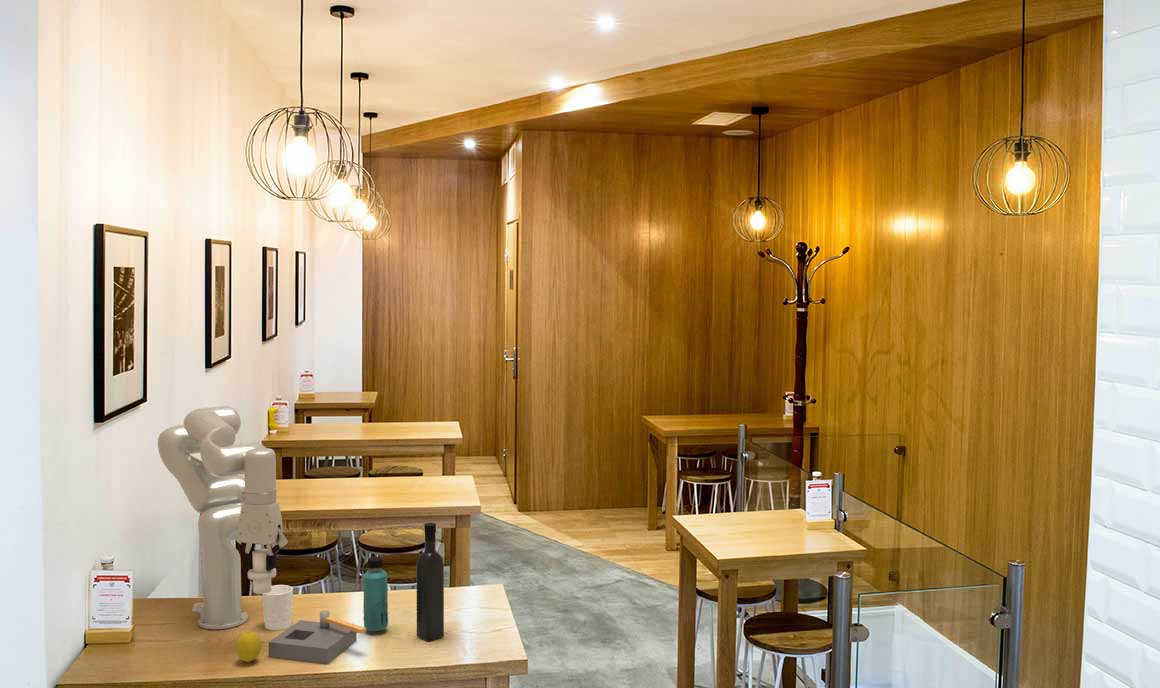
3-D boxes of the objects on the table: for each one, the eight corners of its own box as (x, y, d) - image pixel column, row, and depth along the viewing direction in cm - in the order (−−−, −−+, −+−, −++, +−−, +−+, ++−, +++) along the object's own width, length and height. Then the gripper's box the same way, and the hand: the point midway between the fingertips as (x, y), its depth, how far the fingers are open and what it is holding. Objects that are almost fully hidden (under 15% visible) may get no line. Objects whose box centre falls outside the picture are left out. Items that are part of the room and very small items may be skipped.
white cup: (299, 623, 254) (299, 587, 253) (278, 633, 247) (278, 596, 246) (277, 618, 257) (276, 583, 256) (256, 628, 250) (255, 592, 249)
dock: (268, 657, 232) (268, 642, 231) (300, 634, 246) (300, 620, 246) (327, 664, 228) (327, 648, 228) (356, 641, 242) (356, 626, 242)
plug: (242, 594, 236) (241, 554, 235) (257, 585, 243) (257, 546, 242) (266, 596, 234) (266, 556, 234) (281, 587, 241) (281, 548, 240)
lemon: (240, 658, 231) (239, 626, 230) (263, 658, 231) (262, 626, 231) (234, 668, 225) (233, 635, 225) (257, 667, 226) (257, 635, 225)
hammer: (367, 638, 234) (367, 623, 234) (359, 641, 232) (359, 626, 232) (325, 624, 243) (325, 610, 243) (317, 627, 241) (317, 612, 241)
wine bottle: (414, 636, 246) (414, 523, 244) (432, 630, 250) (432, 519, 248) (428, 642, 242) (428, 528, 240) (445, 636, 246) (445, 524, 244)
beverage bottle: (382, 637, 245) (382, 562, 243) (358, 635, 246) (358, 560, 245) (392, 628, 251) (392, 555, 250) (369, 626, 253) (368, 553, 251)
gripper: (222, 498, 235) (223, 570, 236) (282, 503, 231) (283, 576, 232) (239, 492, 242) (241, 561, 244) (298, 496, 238) (299, 566, 240)
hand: (262, 567), depth 238 cm, fingers closed on plug, 4 cm apart
